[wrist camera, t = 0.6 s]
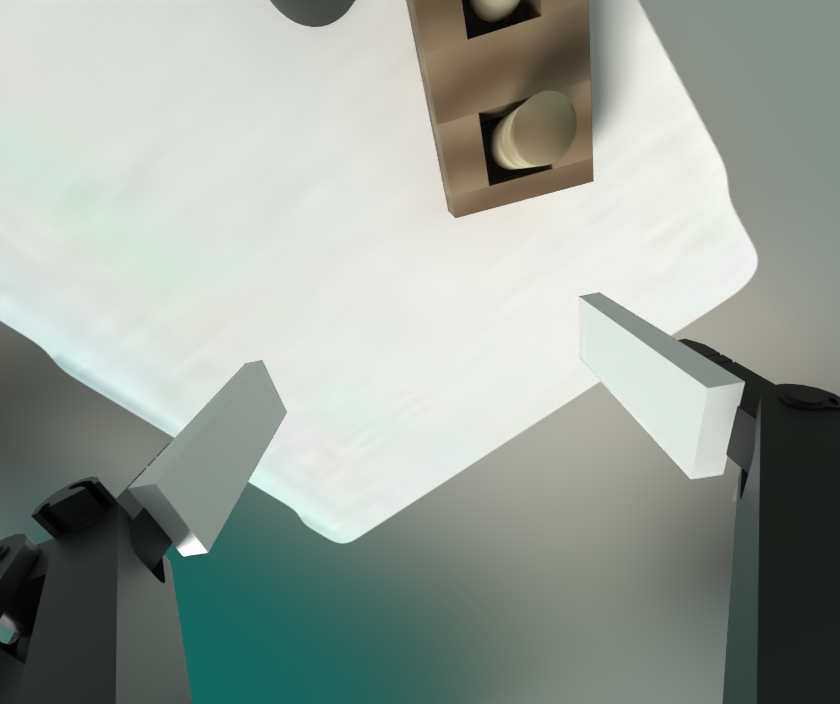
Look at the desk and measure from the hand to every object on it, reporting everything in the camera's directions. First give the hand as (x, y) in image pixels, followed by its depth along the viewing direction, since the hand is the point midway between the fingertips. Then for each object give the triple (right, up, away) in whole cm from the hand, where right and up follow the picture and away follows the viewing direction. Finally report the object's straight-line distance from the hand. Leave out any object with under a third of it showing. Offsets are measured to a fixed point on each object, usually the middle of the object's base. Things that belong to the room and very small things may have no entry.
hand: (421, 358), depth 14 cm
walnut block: (+7, +25, +19) cm, 32 cm away
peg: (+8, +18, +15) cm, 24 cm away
